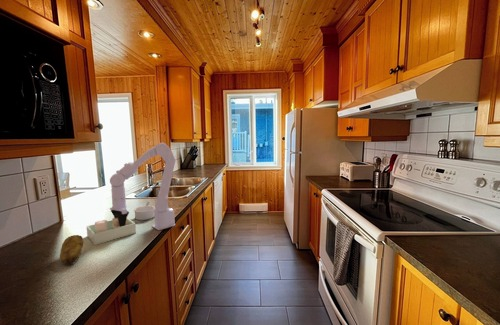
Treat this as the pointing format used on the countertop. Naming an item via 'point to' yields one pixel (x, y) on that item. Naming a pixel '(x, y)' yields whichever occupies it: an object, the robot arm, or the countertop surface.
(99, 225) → the pale pink egg
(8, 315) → the countertop surface
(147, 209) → the saucepan
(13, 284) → the countertop surface
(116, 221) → the maple cube
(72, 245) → the potato
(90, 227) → the tote
